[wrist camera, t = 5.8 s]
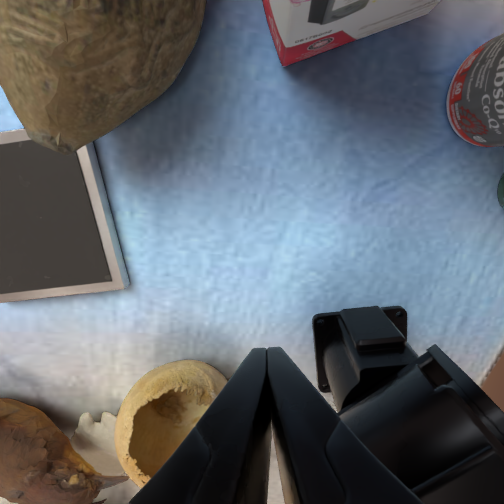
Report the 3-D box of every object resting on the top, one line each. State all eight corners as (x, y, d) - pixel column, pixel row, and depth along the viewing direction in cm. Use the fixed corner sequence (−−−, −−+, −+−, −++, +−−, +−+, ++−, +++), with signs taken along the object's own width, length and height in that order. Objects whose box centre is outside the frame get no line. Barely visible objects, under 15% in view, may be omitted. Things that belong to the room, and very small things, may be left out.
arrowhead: (105, 387, 24) (42, 456, 27) (92, 404, 23) (25, 476, 25) (168, 437, 25) (102, 500, 27) (161, 456, 23) (90, 522, 26)
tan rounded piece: (174, 556, 16) (182, 480, 23) (273, 434, 18) (253, 398, 25) (70, 450, 16) (110, 406, 23) (180, 340, 18) (186, 330, 25)
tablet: (130, 284, 21) (124, 289, 21) (2, 298, 22) (-10, 304, 21) (87, 121, 19) (78, 119, 18) (-59, 144, 19) (-75, 143, 18)
